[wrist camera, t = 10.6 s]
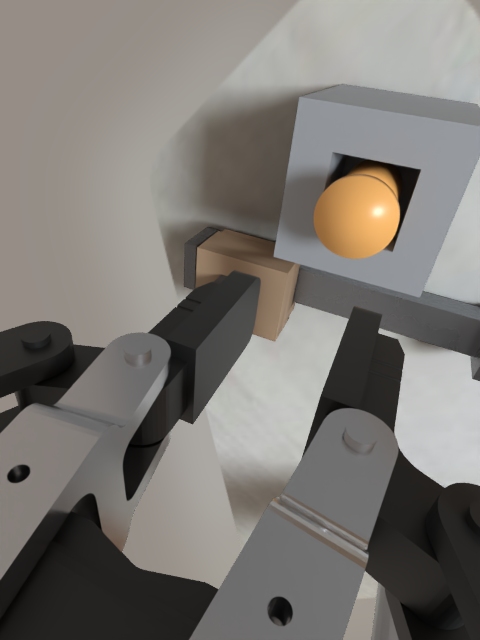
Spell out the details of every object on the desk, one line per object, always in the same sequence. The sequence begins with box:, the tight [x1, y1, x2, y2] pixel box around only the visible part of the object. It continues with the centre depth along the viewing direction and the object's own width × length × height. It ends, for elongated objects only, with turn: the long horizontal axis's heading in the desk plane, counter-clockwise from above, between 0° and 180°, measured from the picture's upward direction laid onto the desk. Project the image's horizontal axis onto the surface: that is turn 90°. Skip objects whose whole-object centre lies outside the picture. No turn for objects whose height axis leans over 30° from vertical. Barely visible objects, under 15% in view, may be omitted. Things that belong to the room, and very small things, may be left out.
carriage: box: [196, 229, 301, 341], centre depth 30 cm, size 7×6×12 cm
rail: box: [184, 227, 480, 381], centre depth 32 cm, size 24×4×4 cm, turn 84°
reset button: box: [314, 159, 402, 259], centre depth 20 cm, size 4×4×6 cm
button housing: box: [273, 84, 480, 298], centre depth 24 cm, size 8×9×10 cm
